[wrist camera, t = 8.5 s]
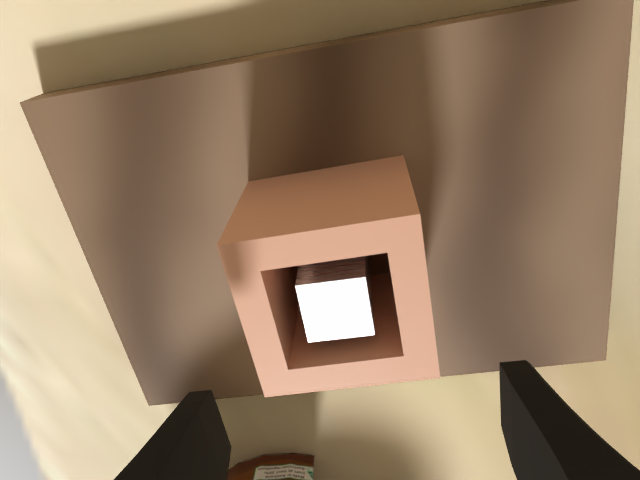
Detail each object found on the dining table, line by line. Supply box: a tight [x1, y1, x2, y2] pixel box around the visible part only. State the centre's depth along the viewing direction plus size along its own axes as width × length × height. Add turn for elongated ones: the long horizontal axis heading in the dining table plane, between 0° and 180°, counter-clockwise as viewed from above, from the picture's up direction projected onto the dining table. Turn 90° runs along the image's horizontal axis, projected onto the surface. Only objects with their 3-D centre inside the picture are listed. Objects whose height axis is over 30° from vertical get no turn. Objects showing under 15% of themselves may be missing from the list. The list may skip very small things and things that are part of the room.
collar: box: [217, 155, 440, 397], centre depth 18 cm, size 6×6×5 cm
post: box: [295, 255, 375, 342], centre depth 18 cm, size 2×2×4 cm
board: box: [20, 0, 634, 406], centre depth 21 cm, size 20×14×2 cm
